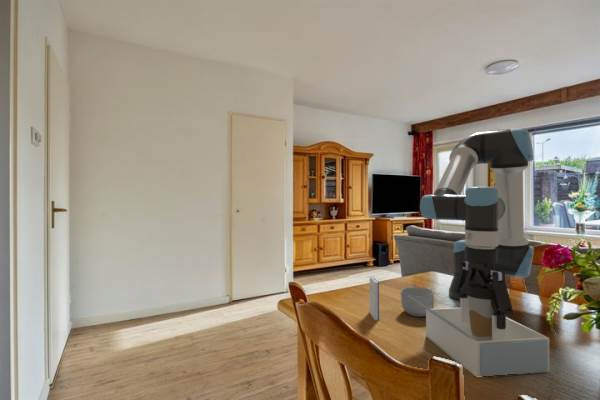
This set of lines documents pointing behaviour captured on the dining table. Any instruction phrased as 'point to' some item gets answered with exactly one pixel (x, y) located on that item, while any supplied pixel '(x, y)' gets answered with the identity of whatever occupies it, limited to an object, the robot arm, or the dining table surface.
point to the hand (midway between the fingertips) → (480, 330)
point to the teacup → (420, 295)
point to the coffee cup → (480, 311)
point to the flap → (440, 317)
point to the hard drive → (374, 298)
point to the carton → (489, 346)
